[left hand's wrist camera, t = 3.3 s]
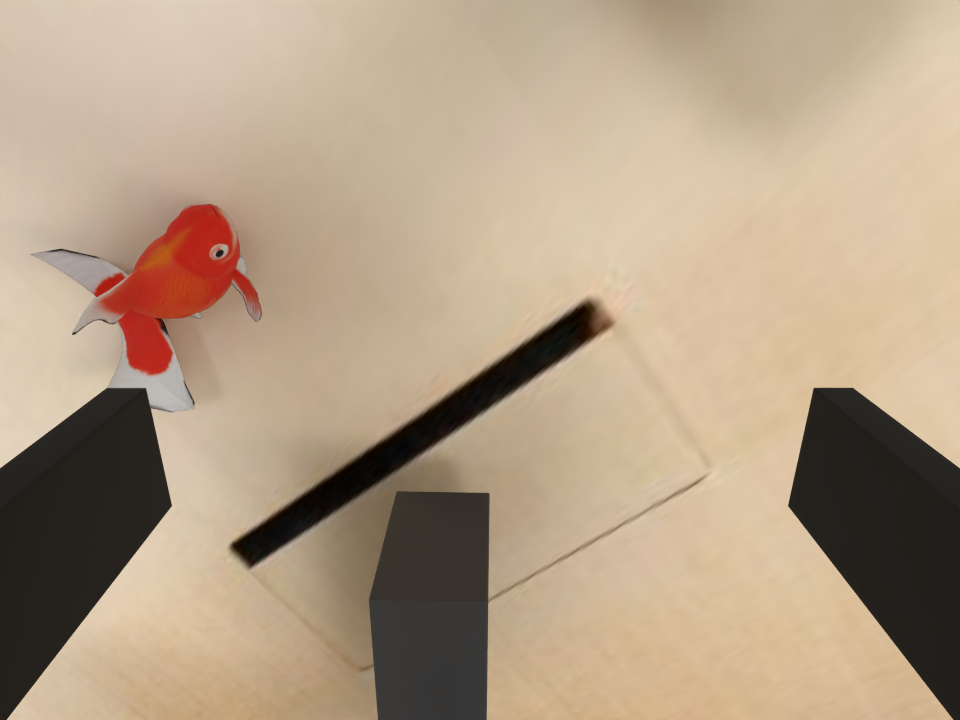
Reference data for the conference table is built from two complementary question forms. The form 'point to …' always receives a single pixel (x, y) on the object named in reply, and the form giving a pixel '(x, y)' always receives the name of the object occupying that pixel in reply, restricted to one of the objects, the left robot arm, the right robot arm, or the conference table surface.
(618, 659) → the conference table surface
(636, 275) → the conference table surface
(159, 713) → the conference table surface
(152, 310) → the fish
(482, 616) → the box
